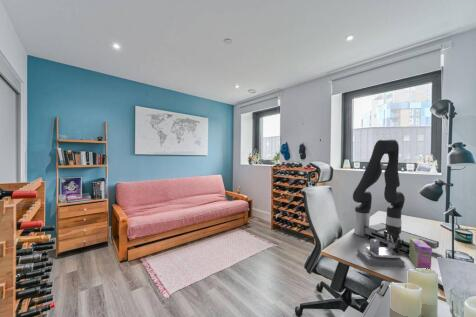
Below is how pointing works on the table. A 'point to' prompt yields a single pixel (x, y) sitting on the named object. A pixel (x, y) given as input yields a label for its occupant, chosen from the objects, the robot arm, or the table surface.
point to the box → (420, 253)
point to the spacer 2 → (390, 245)
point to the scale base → (379, 259)
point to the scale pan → (385, 253)
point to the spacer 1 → (374, 245)
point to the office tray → (379, 229)
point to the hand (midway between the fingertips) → (392, 251)
